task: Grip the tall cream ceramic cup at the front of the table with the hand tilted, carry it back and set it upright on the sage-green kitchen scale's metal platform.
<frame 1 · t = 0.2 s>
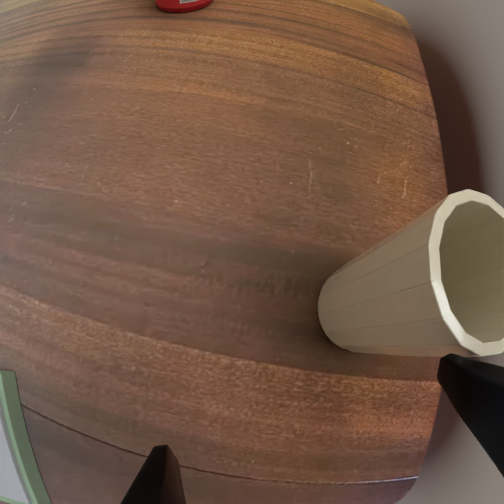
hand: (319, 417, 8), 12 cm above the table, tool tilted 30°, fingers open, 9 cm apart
cup: (359, 307, 22), on the table
canned food: (185, 1, 30), on the table
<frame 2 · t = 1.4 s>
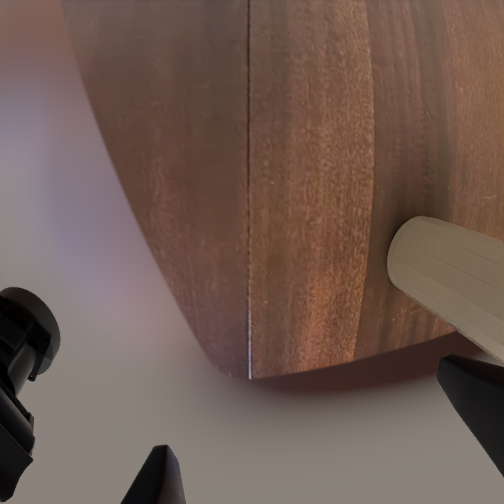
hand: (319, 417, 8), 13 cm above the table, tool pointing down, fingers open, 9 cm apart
cup: (417, 254, 23), on the table
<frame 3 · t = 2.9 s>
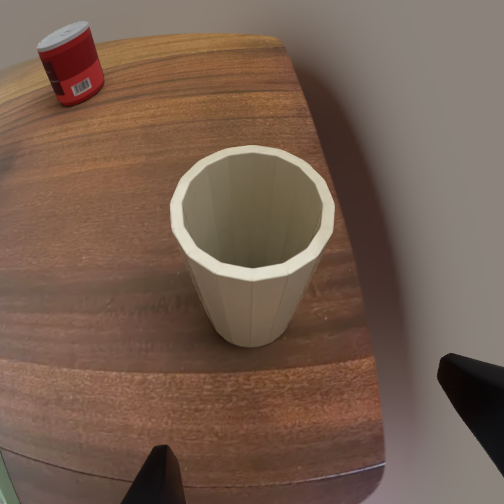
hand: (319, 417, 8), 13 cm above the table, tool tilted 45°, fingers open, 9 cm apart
cup: (250, 305, 24), on the table
canned food: (82, 92, 38), on the table
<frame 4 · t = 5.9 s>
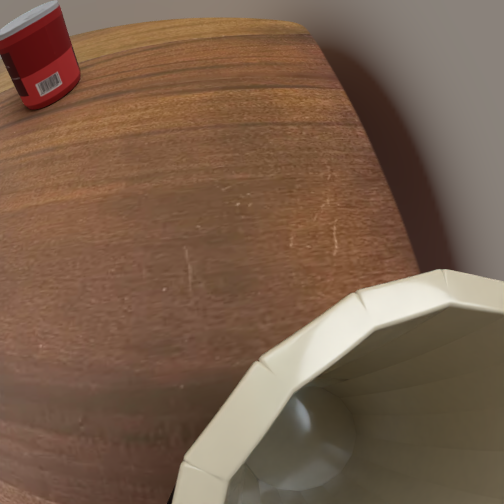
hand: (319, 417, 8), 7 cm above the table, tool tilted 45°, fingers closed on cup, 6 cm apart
cup: (297, 437, 13), on the table, touching gripper
canned food: (54, 91, 28), on the table
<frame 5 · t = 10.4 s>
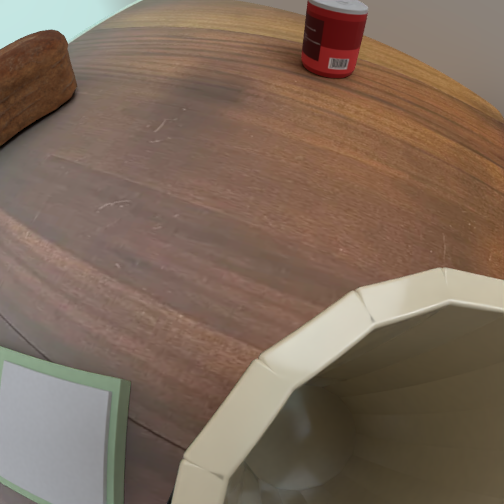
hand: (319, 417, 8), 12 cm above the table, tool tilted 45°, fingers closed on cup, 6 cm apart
bread: (6, 129, 34), on the table
cup: (297, 437, 13), point 6 cm above the table, touching gripper
scale: (47, 434, 17), on the table
canned food: (327, 67, 39), on the table
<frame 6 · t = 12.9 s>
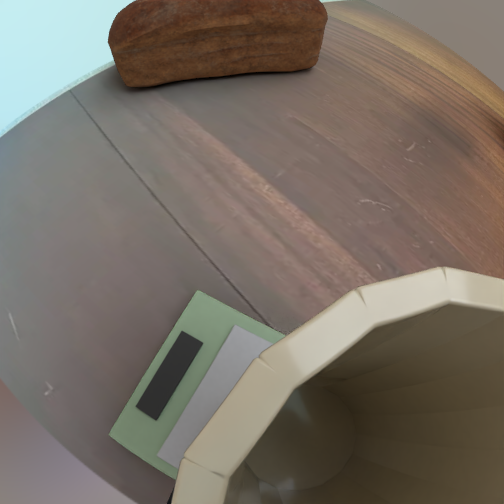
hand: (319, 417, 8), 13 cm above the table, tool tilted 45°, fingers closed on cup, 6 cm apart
bread: (219, 62, 39), on the table
cup: (297, 437, 13), point 6 cm above the table, touching gripper
scale: (246, 417, 19), on the table
when the fingers open (9 cm above the table, at t = 14.9 s): cup stays where it is, resting on scale.
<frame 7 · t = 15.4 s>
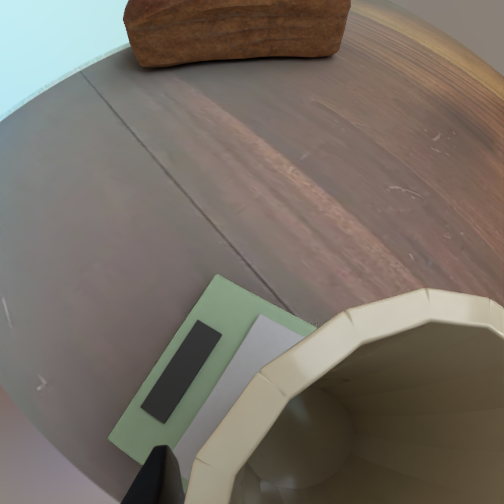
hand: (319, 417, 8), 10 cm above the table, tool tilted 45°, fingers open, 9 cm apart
bread: (237, 46, 36), on the table
cup: (296, 437, 14), point 3 cm above the table, touching scale
scale: (268, 421, 16), on the table
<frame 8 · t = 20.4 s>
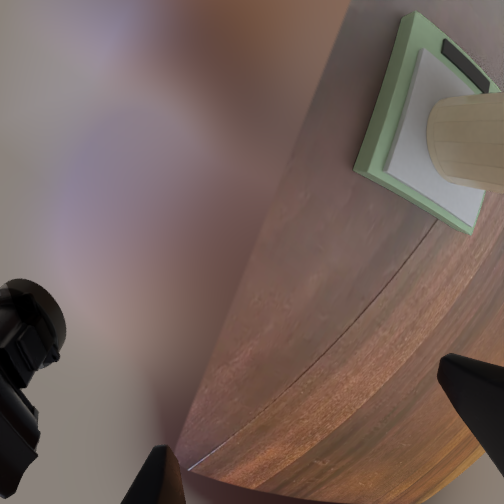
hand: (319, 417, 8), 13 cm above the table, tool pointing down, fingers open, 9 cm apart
cup: (456, 140, 18), point 3 cm above the table, touching scale
scale: (438, 124, 20), on the table
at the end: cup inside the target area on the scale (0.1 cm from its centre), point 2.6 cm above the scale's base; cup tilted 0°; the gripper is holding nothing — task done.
